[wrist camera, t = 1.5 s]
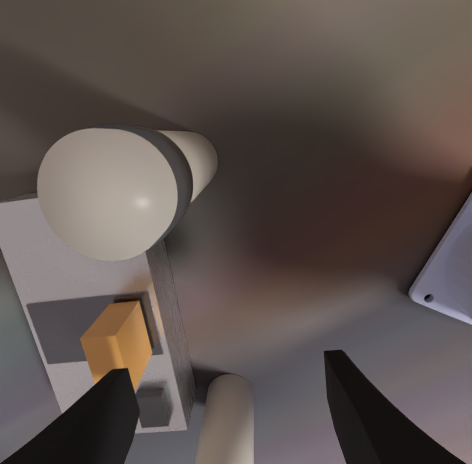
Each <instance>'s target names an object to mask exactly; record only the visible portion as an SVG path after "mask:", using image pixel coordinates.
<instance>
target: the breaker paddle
mask: <svg viewBox="0 0 472 464" xmlns="http://www.w3.org/2000/svg"><path fill="white" fill-rule="evenodd" d="M80 340H81V343H82V347H83V350H84V353H85V356H86V359H87V362H88V365H89V368H90V371H91V374H92V377H93V380H94V383H95V384H96V383H97V382H98V381H99V380H100V379H101V378H102V377H104V376H105V375H106V374H107V373H108V372H109V371H111V370H112V369H120V368H128V370H129V374H130V377H131V381H132V384H133V388H134V391H135V389H136V387H137V385H138V383H139V381H140V379H141V376H142V374H143V372H144V370H145V368H146V366H147V363H148V361H149V359H150V357H151V355H152V349H151V345H150V341H149V337H148V334H147V330H146V326H145V322H144V318H143V314H142V310H141V306H140V302H139V301H132V302H122V303H113V304H109V305H108V306H107V308H106V309H105V310H104V311H103V312H102V313H101V315H100V316H99V317H98V318H97V319H96V321H95V322H94V323H93V324H92V325H91V326H90V328H89V329H88V330H87V331H86V332H85V334H84V335H83V336H82V337H81V338H80Z"/></svg>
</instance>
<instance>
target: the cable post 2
mask: <svg viewBox="0 0 472 464" xmlns="http://www.w3.org/2000/svg"><path fill="white" fill-rule="evenodd" d="M195 464H254V393H253V388H252V386H251V384H250V383H249V382H248V381H247V380H246V379H244V378H243V377H241V376H238V375H234V374H226V375H221V376H219V377H217V378H215V379H214V380H213V381H212V382H211V383H210V385H209V387H208V393H207V398H206V404H205V409H204V415H203V421H202V426H201V432H200V437H199V443H198V449H197V454H196V460H195Z"/></svg>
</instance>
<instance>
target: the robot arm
mask: <svg viewBox="0 0 472 464" xmlns="http://www.w3.org/2000/svg"><path fill="white" fill-rule="evenodd" d="M428 294H430V297H429V298H427V299H424V297H425V296H426V295H428ZM409 296H410V298H411V299H412V300H413V301H415V302H416V303H419V304H421V305H424V306H426V307H429V308H431V309H434V310H436V311H439V312H441V313H444V314H446V315H449V316H451V317H454V318H456V319H459V320H461V321H464V322H466V323H469V324H471V325H472V193H471V194H470V196H469V197H468V199H467V201H466V202H465V204H464V205H463V207H462V208H461V210H460V211H459V213H458V215H457V216H456V218H455V219H454V221H453V222H452V224H451V225H450V227H449V229H448V230H447V232H446V233H445V235H444V236H443V238H442V239H441V241H440V243H439V244H438V246H437V247H436V249H435V250H434V252H433V254H432V255H431V257H430V258H429V260H428V261H427V263H426V264H425V266H424V268H423V269H422V271H421V272H420V274H419V275H418V277H417V278H416V280H415V282H414V283H413V285H412V286H411V288H410V290H409ZM324 361H325V374H326V388H327V399H328V403H329V408H330V412H331V416H332V420H333V425H334V429H335V432H336V434H337V437H338V440H339V443H340V446H341V449H342V452H343V455H344V458H345V461H346V464H466V463H464V462H463V461H461V460H460V459H459V458H457V457H456V456H454V455H453V454H451V453H450V452H449V451H447V450H446V449H445V448H444V447H442V446H441V445H440V444H438V443H437V442H436V441H434V440H433V439H432V438H431V437H429V436H428V435H427V434H426V433H425V432H423V431H422V430H421V429H420V428H418V427H417V426H416V425H415V424H414V423H413V422H411V421H410V420H409V419H408V418H407V417H406V416H405V415H404V414H403V413H401V412H400V411H399V410H398V409H397V408H396V407H395V406H394V405H393V404H392V403H391V402H390V401H389V400H388V399H387V398H386V397H385V396H384V395H383V394H382V393H381V392H380V391H379V390H378V389H377V388H376V387H375V386H374V385H373V384H372V383H371V382H370V381H369V380H368V379H367V378H366V377H365V376H364V374H363V373H362V372H361V371H360V370H359V369H358V368H357V367H356V365H355V364H354V363H353V362H352V361H351V359H350V358H349V357H348V356H347V355H346V353H345V352H344V351H342V350H332V351H324ZM139 415H140V409H139V405H138V402H137V398H136V395H135V391H134V388H133V384H132V381H131V377H130V374H129V370H128V368H120V369H112V370H111V371H109V372H108V373H107V374H106V375H105V376H104V377H102V378H101V379H100V380H99V381H98V382H97V383H96V384H95V385H94V386H92V387H91V388H90V389H89V390H88V391H87V392H86V393H85V394H84V395H83V396H82V397H80V398H79V399H78V400H77V401H76V402H75V403H74V404H73V405H72V406H70V407H69V408H68V409H67V410H66V411H65V412H64V413H63V414H61V415H60V416H59V417H58V418H57V419H56V420H54V421H53V422H52V423H51V424H50V425H48V426H47V427H46V428H45V429H44V430H43V431H41V432H40V433H39V434H38V435H37V436H35V437H34V438H33V439H32V440H31V441H29V442H28V443H27V444H25V445H24V446H23V447H22V448H20V449H19V450H18V451H16V452H15V453H14V454H12V455H11V456H10V457H8V458H7V459H6V460H4V461H3V462H2V463H0V464H124V462H125V459H126V457H127V454H128V451H129V449H130V446H131V444H132V441H133V437H134V434H135V430H136V427H137V423H138V419H139Z"/></svg>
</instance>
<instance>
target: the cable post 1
mask: <svg viewBox="0 0 472 464" xmlns="http://www.w3.org/2000/svg"><path fill="white" fill-rule="evenodd" d="M217 166H218V158H217V153H216V151H215V149H214V147H213V145H212V144H211V142H210V141H209V140H208V139H207V138H206V137H204V136H203V135H201V134H198V133H196V132H189V131H160V130H154V129H151V128H147V127H142V126H129V125H113V124H107V125H99V126H94V127H91V128H89V129H83V130H78V131H75V132H72V133H70V134H68V135H66V136H64V137H62V138H61V139H60V140H58V141H57V142H56V143H55V144H54V145H53V146H52V147H51V148H50V149H49V150H48V152H47V153H46V155H45V157H44V158H43V161H42V163H41V165H40V169H39V172H38V179H37V193H38V200H39V203H40V207H41V210H42V212H43V215H44V217H45V219H46V221H47V223H48V224H49V226H50V227H51V229H52V230H53V231H54V233H55V234H56V235H57V236H58V237H59V238H60V239H61V240H62V241H63V242H64V243H65V244H67V245H68V246H69V247H71V248H72V249H74V250H75V251H77V252H79V253H81V254H83V255H85V256H88V257H91V258H94V259H98V260H103V261H120V260H126V259H130V258H133V257H135V256H137V255H140V254H142V253H143V252H145V251H146V250H148V249H149V248H150V247H152V246H154V245H156V244H157V243H159V242H160V241H161V240H163V239H164V238H165V237H166V236H167V235H168V234H169V232H170V231H171V230H172V229H173V228H174V226H175V225H176V224H177V223H178V222H179V221H180V219H181V218H182V217H183V216H184V214H185V213H186V211H187V210H188V207H189V205H190V203H191V202H192V201H193V200H194V199H195V198H196V197H197V196H198V195H199V194H200V192H201V191H202V190H203V189H204V188H205V187H206V186H207V185H208V184H209V182H210V181H211V180H212V179H213V177H214V176H215V173H216V171H217Z"/></svg>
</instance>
